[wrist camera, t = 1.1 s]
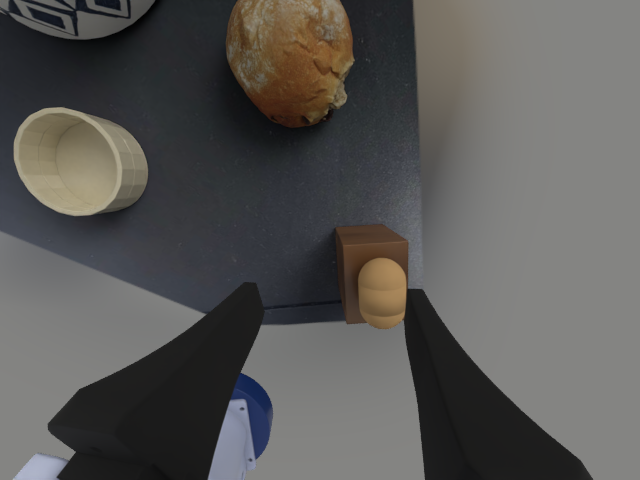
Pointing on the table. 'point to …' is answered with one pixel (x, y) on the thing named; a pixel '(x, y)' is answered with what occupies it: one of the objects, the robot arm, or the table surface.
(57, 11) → the planter
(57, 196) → the bowl
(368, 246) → the block
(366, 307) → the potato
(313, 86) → the bread roll
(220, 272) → the table surface
